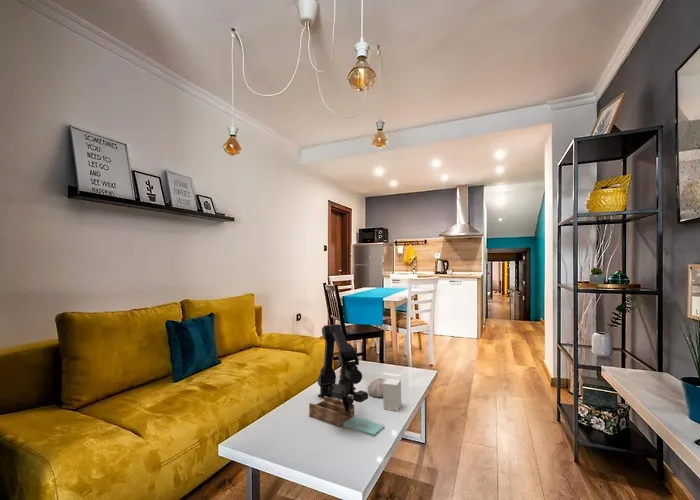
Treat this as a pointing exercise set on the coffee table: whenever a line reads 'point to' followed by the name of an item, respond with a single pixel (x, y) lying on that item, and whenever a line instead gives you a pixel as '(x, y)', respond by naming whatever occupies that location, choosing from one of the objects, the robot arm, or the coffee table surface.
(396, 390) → the supplement box
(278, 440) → the coffee table surface
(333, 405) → the brown wooden box
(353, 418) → the cover plate
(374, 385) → the sea urchin shell
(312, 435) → the coffee table surface
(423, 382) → the coffee table surface
